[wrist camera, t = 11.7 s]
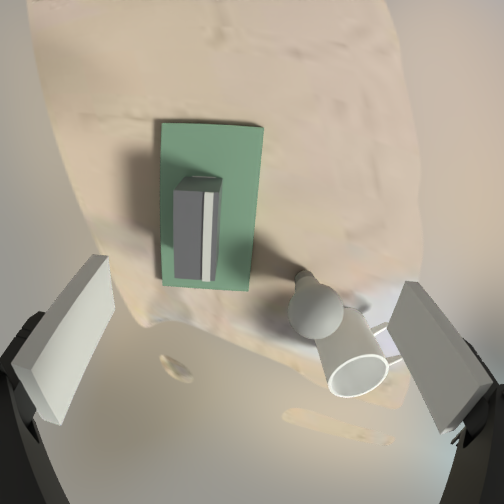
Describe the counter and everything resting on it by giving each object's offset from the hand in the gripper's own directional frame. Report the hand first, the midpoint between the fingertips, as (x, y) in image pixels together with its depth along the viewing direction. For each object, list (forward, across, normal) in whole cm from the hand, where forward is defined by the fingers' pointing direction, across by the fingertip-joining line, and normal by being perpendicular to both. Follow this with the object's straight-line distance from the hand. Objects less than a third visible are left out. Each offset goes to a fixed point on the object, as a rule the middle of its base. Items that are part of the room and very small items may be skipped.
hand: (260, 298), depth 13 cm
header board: (+24, -5, -5) cm, 25 cm away
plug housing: (+23, -5, -5) cm, 24 cm away
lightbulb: (+24, +8, -12) cm, 28 cm away
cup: (+24, +18, -20) cm, 36 cm away
